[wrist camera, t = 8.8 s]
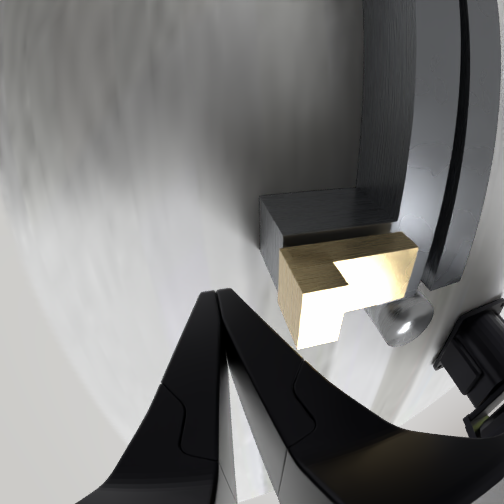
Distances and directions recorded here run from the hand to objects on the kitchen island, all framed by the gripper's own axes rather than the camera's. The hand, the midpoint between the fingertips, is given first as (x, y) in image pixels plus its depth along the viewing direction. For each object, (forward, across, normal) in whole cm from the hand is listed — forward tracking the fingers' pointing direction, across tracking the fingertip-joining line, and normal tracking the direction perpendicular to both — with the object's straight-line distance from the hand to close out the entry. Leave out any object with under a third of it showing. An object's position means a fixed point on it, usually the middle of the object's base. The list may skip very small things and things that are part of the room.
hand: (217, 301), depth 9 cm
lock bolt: (+1, -4, 0) cm, 4 cm away
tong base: (+4, -5, -7) cm, 9 cm away
